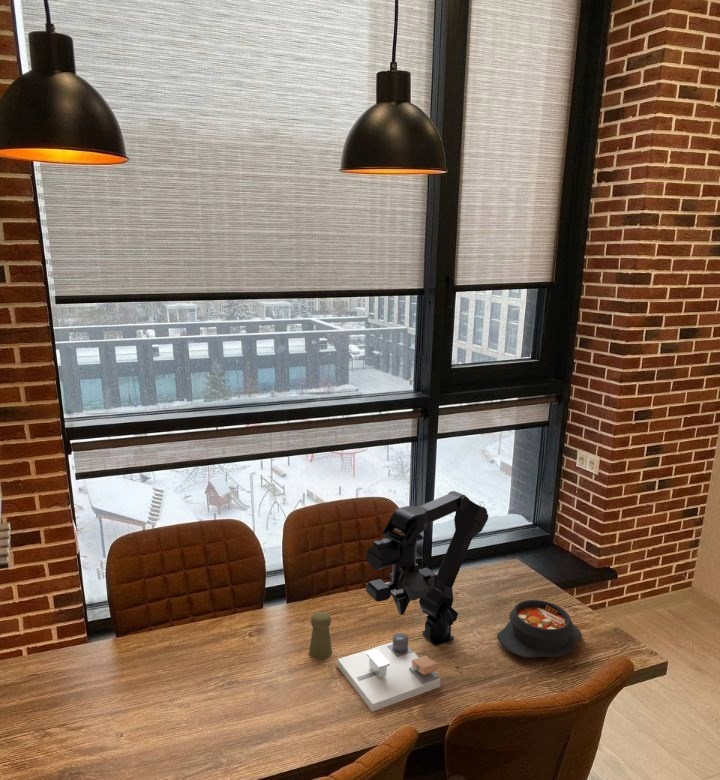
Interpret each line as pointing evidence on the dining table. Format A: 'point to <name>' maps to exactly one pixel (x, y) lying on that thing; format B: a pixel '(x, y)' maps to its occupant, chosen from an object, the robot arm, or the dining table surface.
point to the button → (400, 643)
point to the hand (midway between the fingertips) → (401, 614)
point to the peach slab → (424, 665)
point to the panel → (387, 677)
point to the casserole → (539, 630)
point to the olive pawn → (320, 636)
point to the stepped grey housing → (378, 663)
